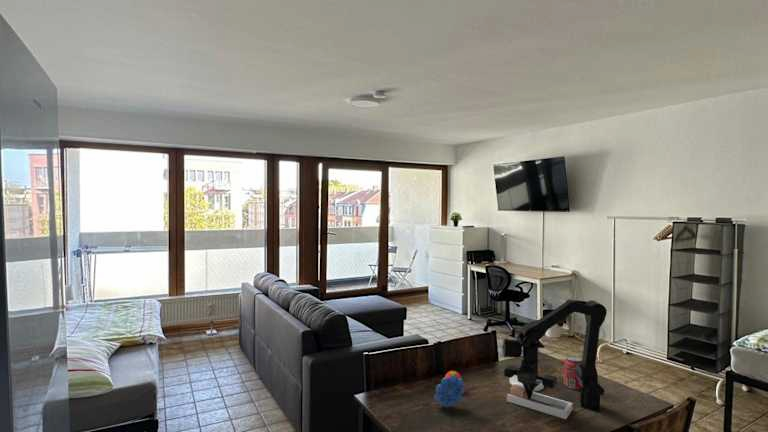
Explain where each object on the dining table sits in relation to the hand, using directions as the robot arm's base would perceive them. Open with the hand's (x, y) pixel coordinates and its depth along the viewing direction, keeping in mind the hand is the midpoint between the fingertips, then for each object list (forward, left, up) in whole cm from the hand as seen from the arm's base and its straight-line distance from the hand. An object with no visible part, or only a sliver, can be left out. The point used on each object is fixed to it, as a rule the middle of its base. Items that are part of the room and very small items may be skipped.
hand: (529, 398), depth 159 cm
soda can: (-9, -26, -2) cm, 28 cm away
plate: (+7, -16, -2) cm, 17 cm away
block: (+4, 0, -2) cm, 5 cm away
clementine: (+29, +8, -2) cm, 30 cm away
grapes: (+23, +22, -2) cm, 32 cm away
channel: (-3, 0, -2) cm, 4 cm away
